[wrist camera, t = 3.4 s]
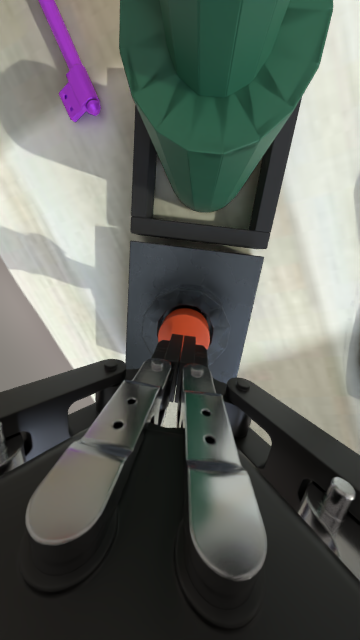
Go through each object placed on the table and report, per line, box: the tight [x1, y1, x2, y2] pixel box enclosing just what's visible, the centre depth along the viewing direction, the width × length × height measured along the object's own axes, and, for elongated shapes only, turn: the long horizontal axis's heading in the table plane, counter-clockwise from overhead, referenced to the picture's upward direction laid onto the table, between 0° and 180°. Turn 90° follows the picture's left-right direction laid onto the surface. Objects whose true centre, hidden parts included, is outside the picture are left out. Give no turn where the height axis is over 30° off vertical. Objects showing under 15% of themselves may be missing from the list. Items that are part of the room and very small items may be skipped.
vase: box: [119, 0, 333, 212], centre depth 10 cm, size 6×6×16 cm
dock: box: [131, 97, 302, 249], centre depth 16 cm, size 11×11×2 cm
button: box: [158, 308, 210, 352], centre depth 16 cm, size 4×4×2 cm
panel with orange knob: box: [125, 241, 264, 385], centre depth 19 cm, size 12×10×6 cm
